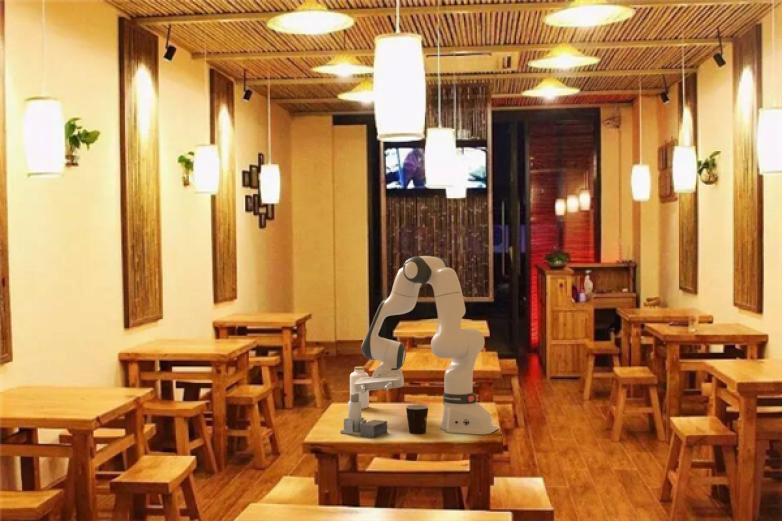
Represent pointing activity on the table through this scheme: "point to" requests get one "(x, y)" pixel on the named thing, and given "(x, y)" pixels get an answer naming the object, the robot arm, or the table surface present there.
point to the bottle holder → (365, 428)
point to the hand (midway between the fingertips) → (374, 390)
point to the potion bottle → (362, 396)
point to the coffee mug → (417, 418)
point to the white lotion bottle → (355, 410)
